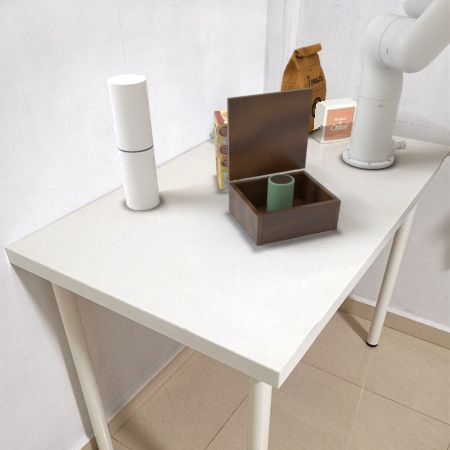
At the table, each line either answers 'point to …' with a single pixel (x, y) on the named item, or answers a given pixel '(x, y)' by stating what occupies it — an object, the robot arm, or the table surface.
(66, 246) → the table surface
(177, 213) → the table surface
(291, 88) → the coffee package
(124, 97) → the cylindrical container
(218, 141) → the candy box
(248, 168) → the chest lid
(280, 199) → the pencil cup
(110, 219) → the table surface
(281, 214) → the chest
